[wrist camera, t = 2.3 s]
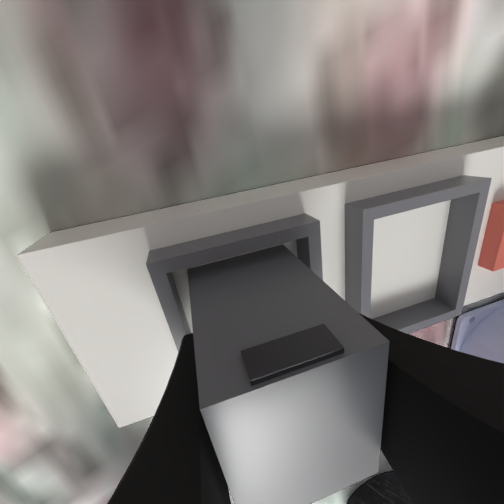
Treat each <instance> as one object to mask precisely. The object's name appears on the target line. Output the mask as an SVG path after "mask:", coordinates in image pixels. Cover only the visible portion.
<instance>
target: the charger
mask: <svg viewBox="0 0 504 504" xmlns="http://www.w3.org/2000/svg"><path fill="white" fill-rule="evenodd" d="M187 272H188V284H189V295H190V306H191V317H192V328H193V339H194V350H195V361H196V372H197V383H198V395H199V406H200V411H201V414H202V417H203V420H204V422H205V425H206V428H207V430H208V433H209V436H210V439H211V441H212V444H213V447H214V449H215V452H216V455H217V458H218V460H219V463H220V466H221V468H222V471H223V474H224V477H225V479H226V482H227V485H228V487H229V490H230V493H231V496H232V498H233V501H234V504H312V503H314V502H316V501H318V500H320V499H322V498H325V497H327V496H329V495H331V494H333V493H335V492H338V491H340V490H342V489H344V488H346V487H348V486H350V485H353V484H355V483H357V482H359V481H361V480H363V479H366V478H368V477H370V476H372V475H374V474H376V473H378V472H379V461H380V449H381V437H382V425H383V413H384V401H385V390H386V378H387V366H388V354H389V342H390V341H389V340H388V339H387V338H385V337H384V336H383V335H382V334H381V333H380V332H379V331H378V330H377V329H376V328H374V327H373V326H372V325H371V324H370V323H369V322H368V321H367V320H366V319H365V318H363V317H362V316H361V315H360V314H359V313H358V312H357V311H356V310H355V309H354V308H352V307H351V306H350V305H349V304H348V303H347V302H346V301H345V300H344V299H343V298H341V297H340V296H339V295H338V294H337V293H336V292H335V291H334V290H333V289H332V288H330V287H329V286H328V285H327V284H326V283H325V282H324V281H323V280H322V279H321V278H319V277H318V276H317V275H316V274H315V273H314V272H313V271H312V270H311V269H309V268H308V267H307V266H306V265H305V264H304V263H303V262H302V261H301V260H300V259H298V258H297V257H296V256H295V255H294V254H293V253H292V252H291V251H290V250H289V249H287V248H286V247H285V246H284V245H279V246H275V247H271V248H267V249H263V250H259V251H256V252H252V253H248V254H244V255H240V256H236V257H233V258H229V259H225V260H221V261H217V262H213V263H209V264H206V265H202V266H198V267H194V268H190V269H187Z"/></svg>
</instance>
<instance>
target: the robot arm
mask: <svg viewBox="0 0 504 504" xmlns="http://www.w3.org/2000/svg"><path fill="white" fill-rule="evenodd" d="M359 314H360V313H359ZM360 315H361V316H362V317H363V318H365V319H366V320H367V321H368V322H369V323H370V324H371V325H372V326H373V327H374V328H376V329H377V330H378V331H379V332H380V333H381V334H382V335H383V336H384V337H385V338H387V339H388V340H389V341H390V342H389V354H388V366H387V378H386V390H385V401H384V413H383V425H382V437H381V450H382V452H383V454H384V455H385V457H386V459H387V460H388V462H389V464H390V466H391V467H392V469H393V471H394V472H395V474H396V476H397V478H398V479H399V481H400V483H401V485H402V486H403V488H404V490H405V492H406V493H407V495H408V497H409V499H410V500H411V502H412V504H504V299H503V300H500V301H497V302H494V303H492V304H489V305H486V306H483V307H481V308H478V309H475V310H472V311H470V312H467V313H464V314H462V315H460V316H459V317H458V319H457V322H456V327H455V331H454V336H453V341H452V345H451V349H450V348H446V347H443V346H440V345H437V344H434V343H431V342H429V341H426V340H423V339H420V338H417V337H414V336H412V335H409V334H406V333H404V332H401V331H399V330H396V329H394V328H392V327H389V326H387V325H384V324H382V323H380V322H377V321H375V320H373V319H371V318H369V317H366V316H364V315H362V314H360ZM108 504H231V502H230V496H229V491H228V485H227V482H226V479H225V477H224V474H223V471H222V468H221V466H220V463H219V460H218V458H217V455H216V452H215V449H214V447H213V444H212V441H211V439H210V436H209V433H208V430H207V428H206V425H205V422H204V420H203V417H202V414H201V411H200V406H199V395H198V383H197V372H196V361H195V350H194V339H193V333H191V334H187V335H184V337H183V338H182V341H181V345H180V349H179V352H178V355H177V359H176V362H175V365H174V368H173V370H172V373H171V376H170V378H169V381H168V384H167V386H166V389H165V392H164V394H163V396H162V399H161V401H160V403H159V406H158V408H157V410H156V413H155V415H154V417H153V419H152V422H151V424H150V426H149V428H148V430H147V432H146V434H145V436H144V438H143V440H142V442H141V444H140V446H139V448H138V450H137V452H136V454H135V456H134V458H133V460H132V461H131V463H130V465H129V467H128V469H127V470H126V472H125V474H124V476H123V478H122V479H121V481H120V483H119V485H118V486H117V488H116V490H115V492H114V494H113V495H112V497H111V499H110V500H109V502H108Z"/></svg>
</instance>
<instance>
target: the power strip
mask: <svg viewBox="0 0 504 504" xmlns="http://www.w3.org/2000/svg"><path fill="white" fill-rule="evenodd" d="M279 245H284V246H285V247H286V248H287V249H289V250H290V251H291V252H292V253H293V254H294V255H295V256H296V257H297V258H298V259H300V260H301V261H302V262H303V263H304V264H305V265H306V266H307V267H308V268H309V269H311V270H312V271H313V272H314V273H315V274H316V275H317V276H318V277H319V278H321V279H322V280H323V281H324V282H325V283H326V284H327V285H328V286H329V287H330V288H332V289H333V290H334V291H335V292H336V293H337V294H338V295H339V296H340V297H341V298H343V299H344V300H345V301H346V302H347V303H348V304H349V305H350V306H351V307H352V308H354V309H355V310H356V311H357V312H358V313H360V314H362V315H364V316H366V317H369V318H371V319H373V320H375V321H377V322H380V323H382V324H384V325H387V326H389V327H392V328H394V329H396V330H399V331H401V332H404V333H406V334H409V333H412V332H414V331H417V330H420V329H423V328H426V327H428V326H431V325H434V324H437V323H439V322H442V321H445V320H448V319H450V318H453V317H456V316H459V315H461V314H462V310H463V306H465V305H468V304H471V303H474V302H477V301H479V300H482V299H485V298H488V297H491V296H494V295H496V294H499V293H502V292H504V136H500V137H495V138H490V139H486V140H481V141H476V142H472V143H467V144H462V145H458V146H453V147H448V148H444V149H439V150H434V151H430V152H425V153H420V154H416V155H411V156H406V157H401V158H397V159H392V160H387V161H383V162H378V163H373V164H369V165H364V166H359V167H355V168H350V169H345V170H341V171H336V172H331V173H327V174H322V175H317V176H312V177H308V178H303V179H298V180H294V181H289V182H284V183H280V184H275V185H270V186H266V187H261V188H256V189H252V190H247V191H242V192H238V193H233V194H228V195H223V196H219V197H214V198H209V199H205V200H200V201H195V202H191V203H186V204H181V205H177V206H172V207H167V208H163V209H158V210H153V211H148V212H144V213H139V214H134V215H130V216H125V217H120V218H116V219H111V220H106V221H102V222H97V223H92V224H88V225H83V226H78V227H74V228H69V229H64V230H59V231H55V232H50V233H49V234H47V235H46V236H44V237H43V238H41V239H40V240H38V241H37V242H35V243H34V244H32V245H31V246H29V247H28V248H26V249H25V250H23V251H22V252H21V253H19V254H18V255H16V256H17V257H18V259H19V261H20V263H21V264H22V266H23V268H24V269H25V271H26V273H27V274H28V276H29V278H30V279H31V281H32V283H33V284H34V286H35V288H36V289H37V291H38V293H39V294H40V296H41V298H42V300H43V301H44V303H45V305H46V306H47V308H48V310H49V311H50V313H51V315H52V316H53V318H54V320H55V321H56V323H57V325H58V326H59V328H60V330H61V331H62V333H63V335H64V337H65V338H66V340H67V342H68V343H69V345H70V347H71V348H72V350H73V352H74V353H75V355H76V357H77V358H78V360H79V362H80V363H81V365H82V367H83V368H84V370H85V372H86V374H87V375H88V377H89V379H90V380H91V382H92V384H93V385H94V387H95V389H96V390H97V392H98V394H99V395H100V397H101V399H102V400H103V402H104V404H105V405H106V407H107V409H108V411H109V412H110V414H111V416H112V417H113V419H114V421H115V422H116V424H117V426H118V427H119V428H121V427H124V426H126V425H129V424H132V423H135V422H138V421H140V420H143V419H146V418H149V417H152V416H154V415H155V413H156V410H157V408H158V406H159V403H160V401H161V399H162V396H163V394H164V392H165V389H166V386H167V384H168V381H169V378H170V376H171V373H172V370H173V368H174V365H175V362H176V359H177V355H178V352H179V349H180V345H181V341H182V338H183V337H184V335H187V334H191V333H193V328H192V317H191V306H190V295H189V284H188V272H187V269H190V268H194V267H198V266H202V265H206V264H209V263H213V262H217V261H221V260H225V259H229V258H233V257H236V256H240V255H244V254H248V253H252V252H256V251H259V250H263V249H267V248H271V247H275V246H279Z"/></svg>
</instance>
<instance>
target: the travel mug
mask: <svg viewBox="0 0 504 504" xmlns="http://www.w3.org/2000/svg"><path fill="white" fill-rule="evenodd" d="M348 504H412V502H411V500H410V499H409V497H408V495H407V493H406V492H405V490H404V488H403V486H402V485H401V483H400V481H399V479H398V478H397V476H396V474H395V472H386V473H383V474H380V475H378V476H376V477H374V478H372V479H370V480H369V481H367V482H366V483H364V484H363V485H362V486H361V487H359V488H358V489H357V490H356V491H355V492H354V494H353V495H352V496H351V498H350V499H349V501H348Z"/></svg>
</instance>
